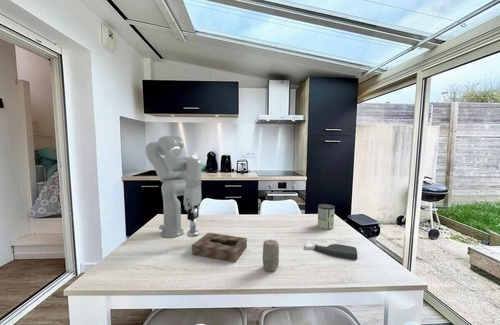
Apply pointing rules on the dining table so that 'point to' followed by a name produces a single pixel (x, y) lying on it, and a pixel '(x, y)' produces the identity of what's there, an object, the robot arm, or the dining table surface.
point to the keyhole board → (220, 247)
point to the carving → (270, 255)
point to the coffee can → (326, 216)
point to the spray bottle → (335, 250)
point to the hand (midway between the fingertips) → (193, 218)
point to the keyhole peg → (193, 225)
